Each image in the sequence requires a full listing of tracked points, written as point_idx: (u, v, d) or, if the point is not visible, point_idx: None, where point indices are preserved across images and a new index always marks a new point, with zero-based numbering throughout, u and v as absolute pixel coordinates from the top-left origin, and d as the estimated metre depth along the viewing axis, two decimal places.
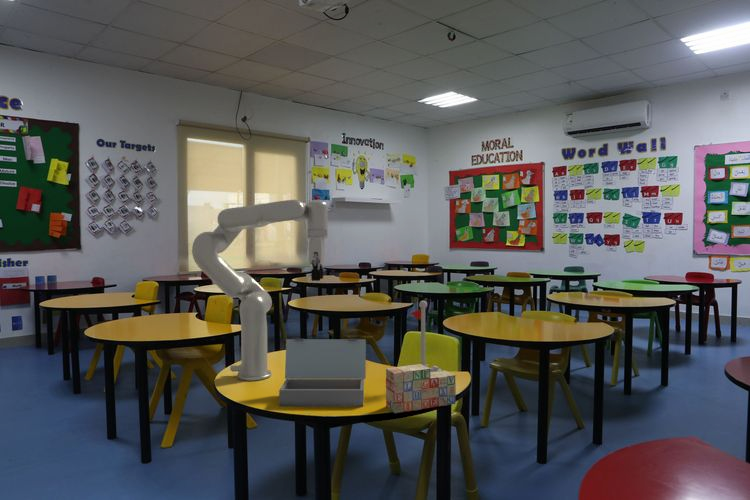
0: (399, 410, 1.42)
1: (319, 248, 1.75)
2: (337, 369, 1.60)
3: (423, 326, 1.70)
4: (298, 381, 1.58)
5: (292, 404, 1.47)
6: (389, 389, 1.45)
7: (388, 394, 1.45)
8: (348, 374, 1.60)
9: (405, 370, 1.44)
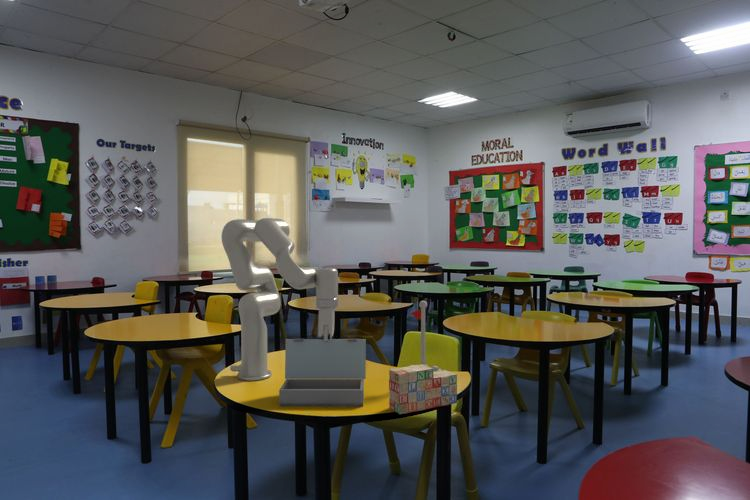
0: (404, 411, 1.41)
1: (329, 321, 1.60)
2: (337, 369, 1.60)
3: (423, 326, 1.70)
4: (298, 381, 1.58)
5: (292, 404, 1.47)
6: (393, 390, 1.43)
7: (392, 395, 1.44)
8: (348, 374, 1.60)
9: (409, 371, 1.43)
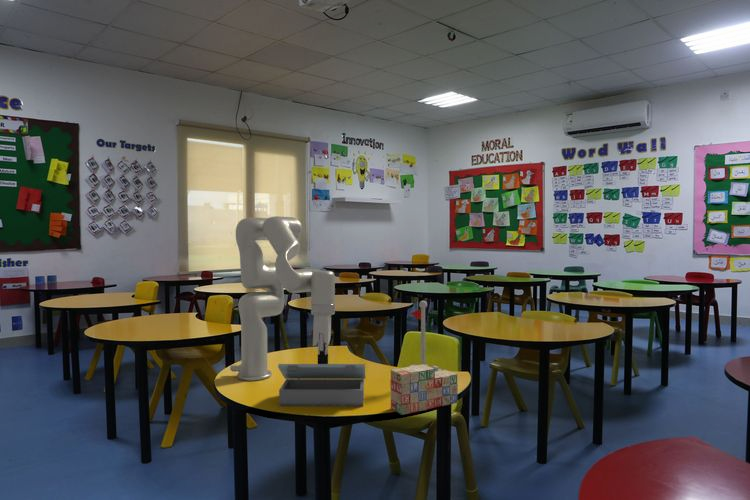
0: (406, 411, 1.41)
1: (325, 328, 1.47)
2: (336, 376, 1.57)
3: (423, 326, 1.70)
4: (298, 381, 1.58)
5: (292, 404, 1.47)
6: (395, 391, 1.43)
7: (394, 395, 1.43)
8: (348, 377, 1.58)
9: (411, 371, 1.43)
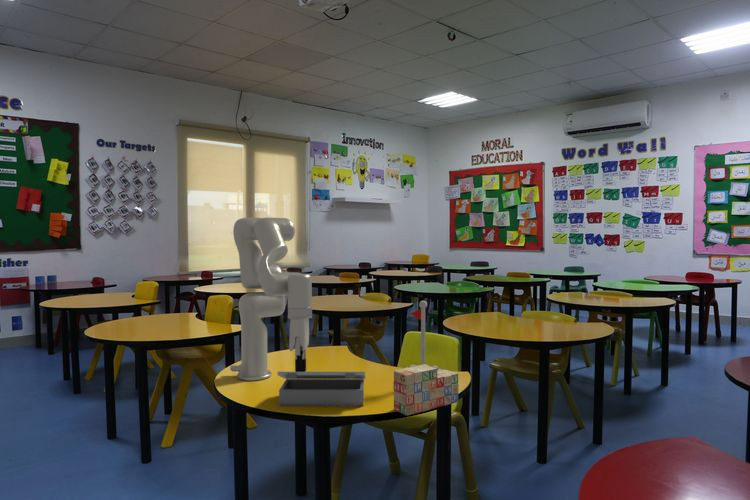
0: (410, 412, 1.41)
1: (302, 332, 1.45)
2: None
3: (423, 326, 1.70)
4: (298, 381, 1.58)
5: (292, 404, 1.47)
6: (399, 392, 1.42)
7: (398, 396, 1.43)
8: None
9: (415, 371, 1.42)
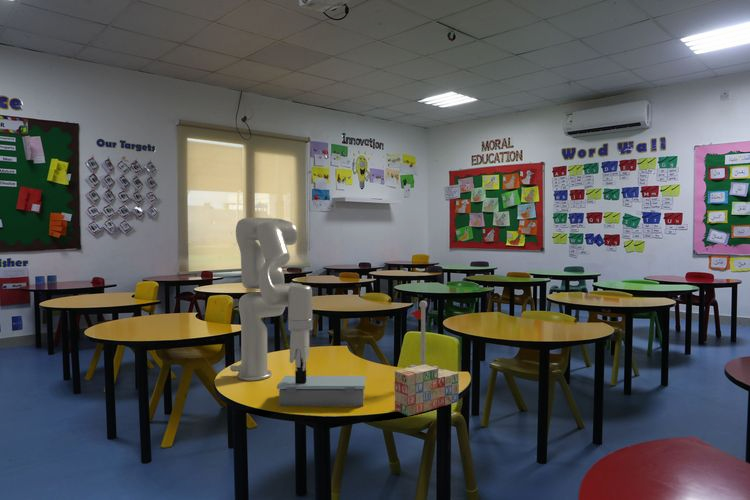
0: (412, 412, 1.40)
1: (302, 344, 1.45)
2: None
3: (423, 326, 1.70)
4: None
5: (292, 404, 1.47)
6: (400, 392, 1.42)
7: (399, 397, 1.42)
8: None
9: (416, 371, 1.42)
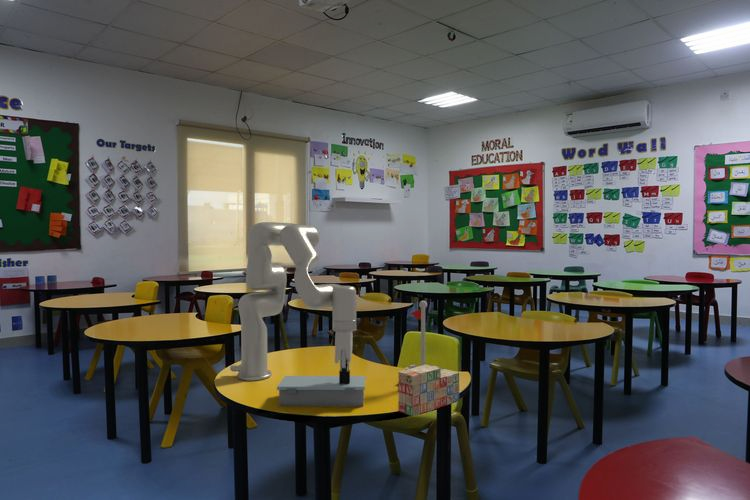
0: (416, 413, 1.40)
1: (347, 345, 1.45)
2: None
3: (423, 326, 1.70)
4: None
5: (292, 404, 1.47)
6: (404, 393, 1.41)
7: (403, 397, 1.42)
8: None
9: (420, 372, 1.42)
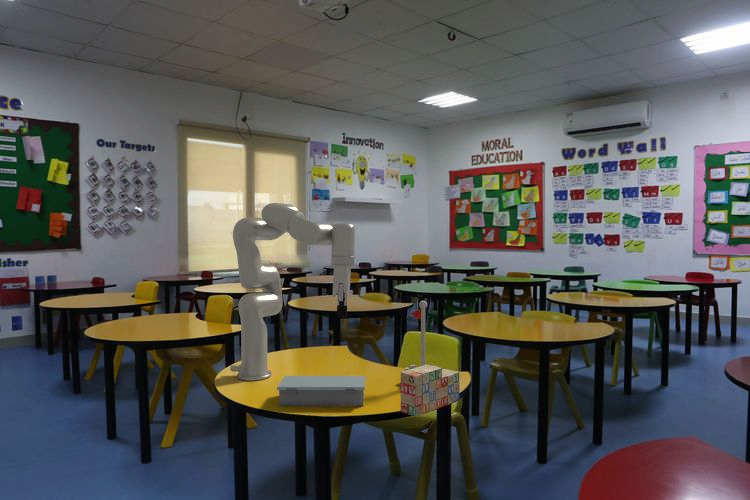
0: (419, 413, 1.40)
1: (345, 278, 1.50)
2: None
3: (423, 326, 1.70)
4: None
5: (292, 404, 1.47)
6: (407, 393, 1.41)
7: (405, 398, 1.41)
8: None
9: (422, 372, 1.42)
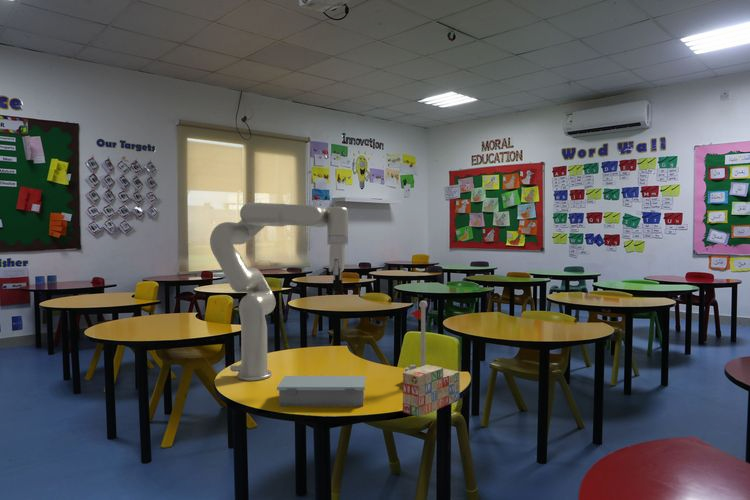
0: (422, 413, 1.40)
1: (340, 255, 1.69)
2: None
3: (423, 326, 1.70)
4: None
5: (292, 404, 1.47)
6: (409, 393, 1.40)
7: (408, 398, 1.41)
8: None
9: (425, 372, 1.42)
